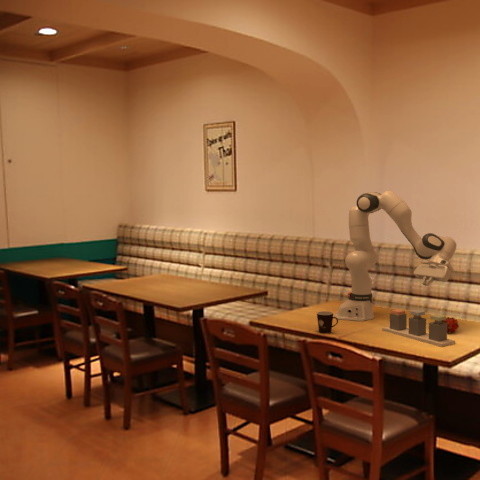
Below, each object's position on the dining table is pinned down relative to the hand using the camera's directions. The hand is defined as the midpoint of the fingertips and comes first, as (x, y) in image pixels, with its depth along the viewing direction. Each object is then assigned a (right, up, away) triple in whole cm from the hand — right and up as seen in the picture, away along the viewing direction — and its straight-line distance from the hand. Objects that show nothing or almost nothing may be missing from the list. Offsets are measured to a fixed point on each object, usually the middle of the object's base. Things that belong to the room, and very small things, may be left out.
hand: (424, 284), depth 319 cm
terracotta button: (-13, -18, +2) cm, 22 cm away
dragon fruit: (+13, -25, 0) cm, 28 cm away
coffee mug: (-50, -25, +3) cm, 56 cm away
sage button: (0, -18, -20) cm, 27 cm away
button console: (-6, -26, -8) cm, 28 cm away
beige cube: (-7, -17, -9) cm, 20 cm away
